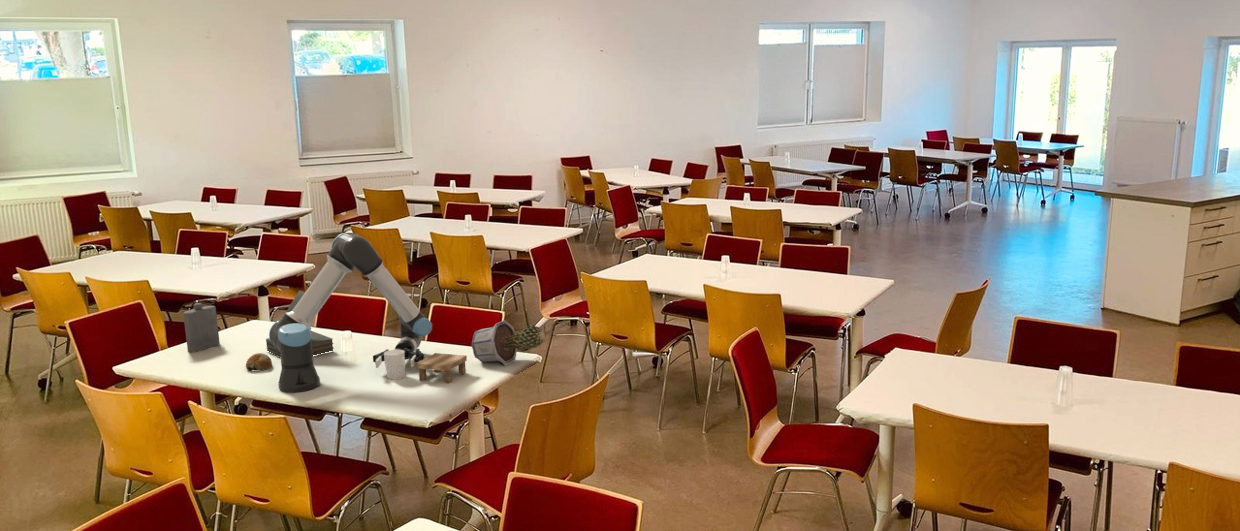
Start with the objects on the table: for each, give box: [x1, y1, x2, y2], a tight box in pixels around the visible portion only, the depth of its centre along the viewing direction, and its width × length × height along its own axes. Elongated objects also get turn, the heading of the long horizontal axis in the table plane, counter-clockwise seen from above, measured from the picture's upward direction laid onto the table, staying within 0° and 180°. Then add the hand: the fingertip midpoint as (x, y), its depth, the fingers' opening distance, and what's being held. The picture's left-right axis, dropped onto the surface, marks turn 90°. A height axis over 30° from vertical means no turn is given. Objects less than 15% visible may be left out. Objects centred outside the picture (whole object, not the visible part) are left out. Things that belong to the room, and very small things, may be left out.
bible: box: [265, 290, 335, 358], centre depth 413 cm, size 23×20×25 cm
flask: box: [182, 302, 220, 353], centre depth 424 cm, size 15×6×20 cm, turn 149°
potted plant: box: [471, 319, 546, 366], centre depth 389 cm, size 18×18×30 cm
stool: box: [416, 352, 467, 384], centre depth 375 cm, size 14×14×7 cm
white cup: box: [384, 349, 406, 380], centre depth 376 cm, size 8×8×10 cm
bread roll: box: [245, 352, 273, 371], centre depth 394 cm, size 10×10×8 cm
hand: (394, 364), depth 374 cm, fingers open, 13 cm apart
